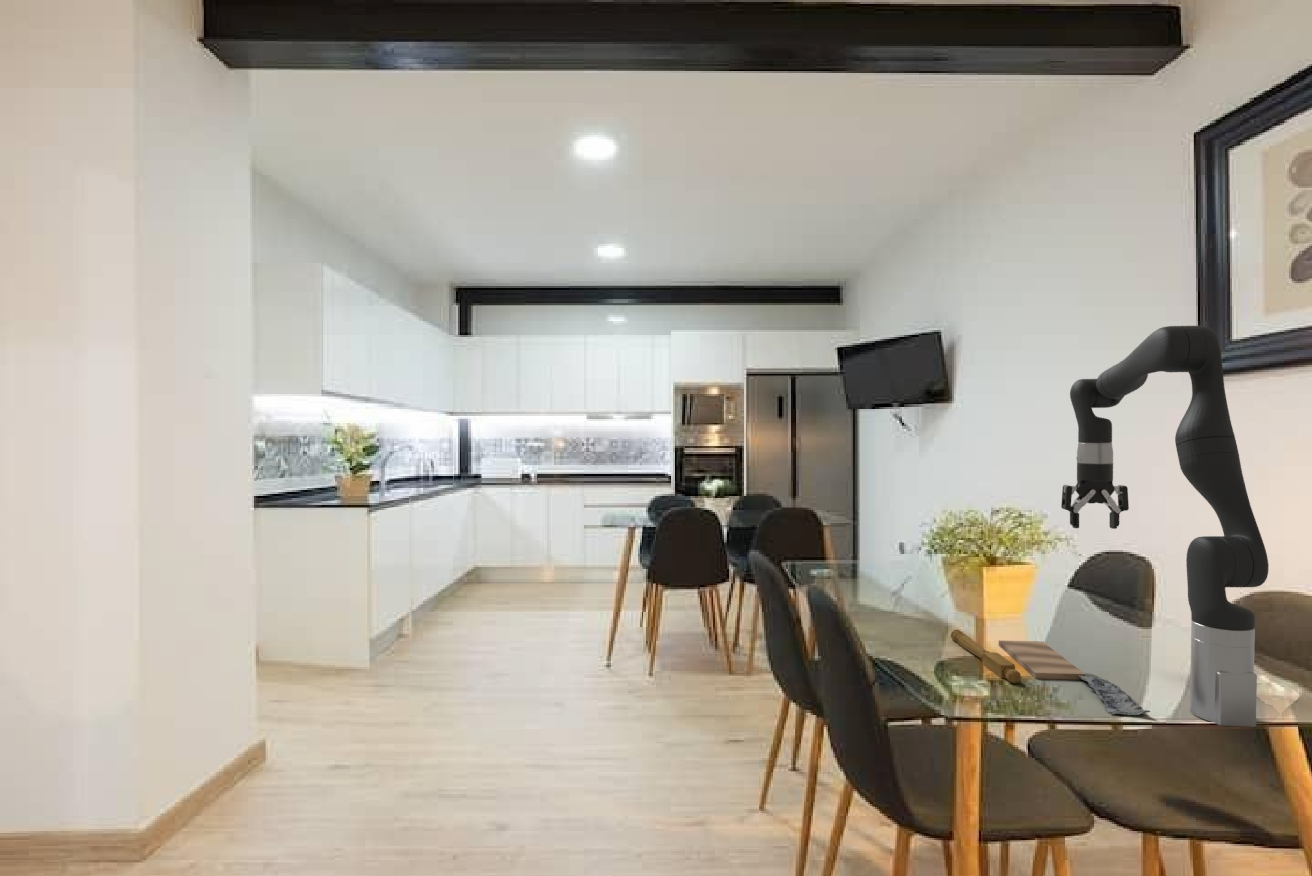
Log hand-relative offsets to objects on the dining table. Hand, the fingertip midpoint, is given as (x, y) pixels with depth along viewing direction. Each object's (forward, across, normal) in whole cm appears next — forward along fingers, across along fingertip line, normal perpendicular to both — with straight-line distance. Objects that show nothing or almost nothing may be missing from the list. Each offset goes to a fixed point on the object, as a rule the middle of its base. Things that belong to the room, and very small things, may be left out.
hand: (1094, 528), depth 177 cm
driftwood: (+28, -13, -35) cm, 47 cm away
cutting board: (+28, -18, -16) cm, 37 cm away
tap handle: (+28, -30, -16) cm, 45 cm away
